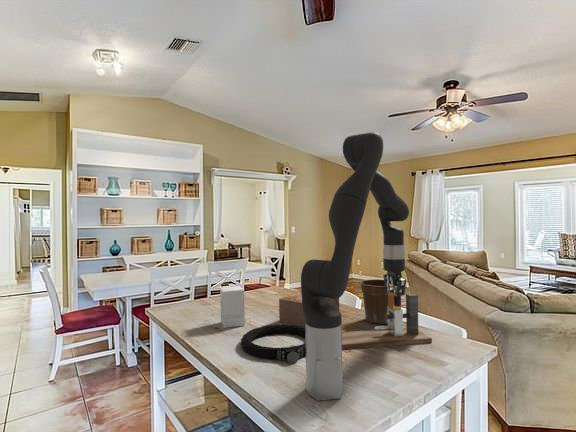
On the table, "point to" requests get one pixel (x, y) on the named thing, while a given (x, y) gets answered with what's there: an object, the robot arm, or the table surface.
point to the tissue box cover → (297, 309)
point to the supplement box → (232, 306)
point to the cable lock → (274, 353)
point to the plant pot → (375, 300)
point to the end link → (397, 322)
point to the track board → (384, 337)
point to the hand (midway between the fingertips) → (394, 304)
